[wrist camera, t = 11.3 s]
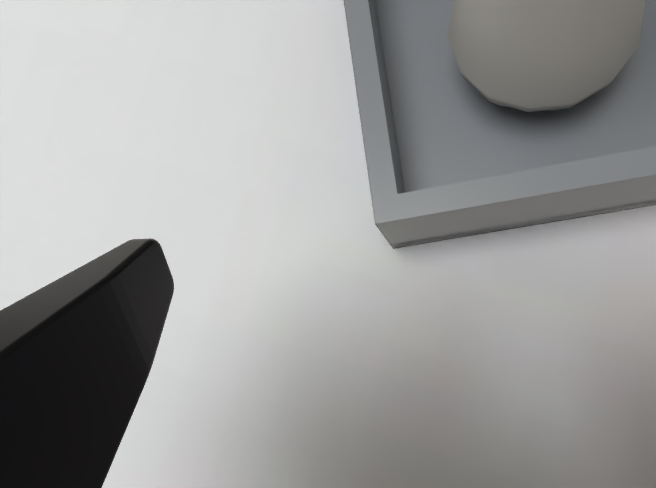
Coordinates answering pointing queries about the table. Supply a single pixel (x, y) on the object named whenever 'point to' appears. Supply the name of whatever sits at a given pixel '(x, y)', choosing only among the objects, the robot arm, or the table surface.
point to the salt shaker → (543, 48)
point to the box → (489, 134)
